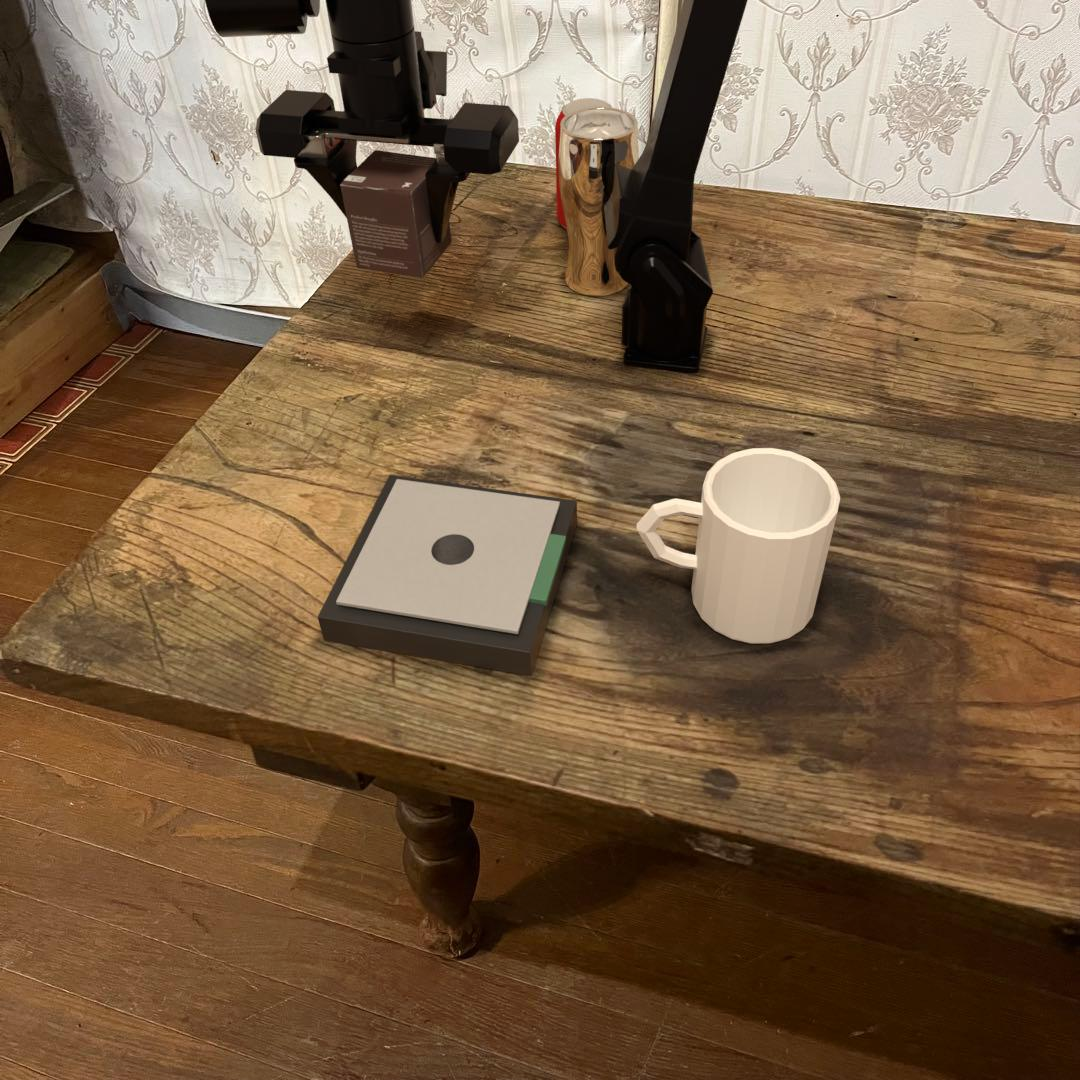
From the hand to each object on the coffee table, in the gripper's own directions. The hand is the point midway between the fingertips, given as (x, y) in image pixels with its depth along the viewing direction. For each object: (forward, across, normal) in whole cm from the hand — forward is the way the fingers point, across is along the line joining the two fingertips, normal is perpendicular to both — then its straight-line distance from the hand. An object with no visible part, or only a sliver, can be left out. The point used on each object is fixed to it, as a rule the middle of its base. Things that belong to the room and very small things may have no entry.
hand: (402, 236), depth 82 cm
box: (+2, 0, 0) cm, 2 cm away
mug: (+12, -29, +22) cm, 39 cm away
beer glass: (+12, -12, -15) cm, 23 cm away
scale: (+11, -11, +25) cm, 29 cm away
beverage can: (+12, -9, -25) cm, 29 cm away
